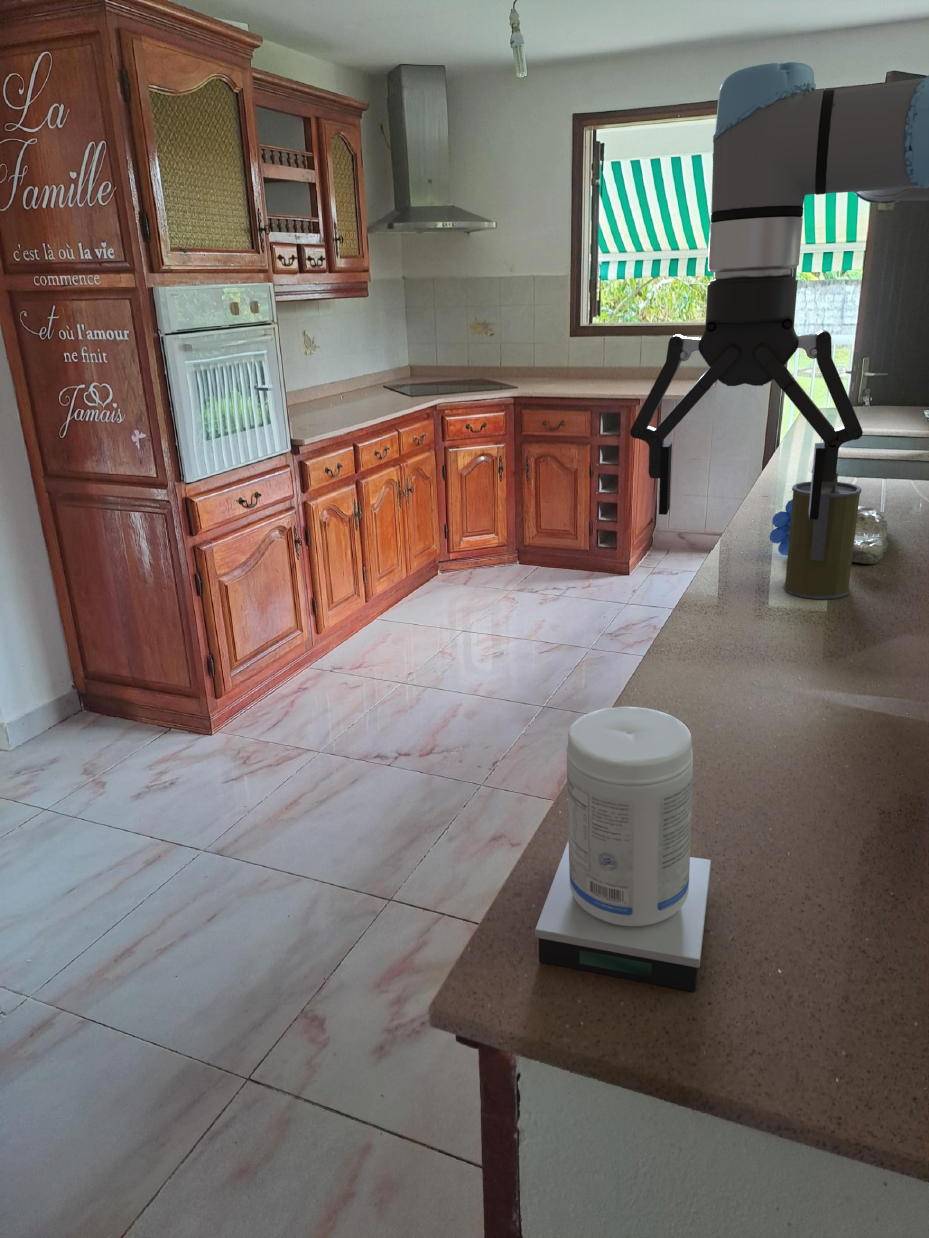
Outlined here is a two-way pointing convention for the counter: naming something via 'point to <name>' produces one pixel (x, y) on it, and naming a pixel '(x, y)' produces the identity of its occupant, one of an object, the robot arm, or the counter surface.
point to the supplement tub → (629, 814)
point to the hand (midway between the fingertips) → (736, 514)
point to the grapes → (782, 529)
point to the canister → (822, 541)
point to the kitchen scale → (625, 935)
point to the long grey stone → (869, 536)
